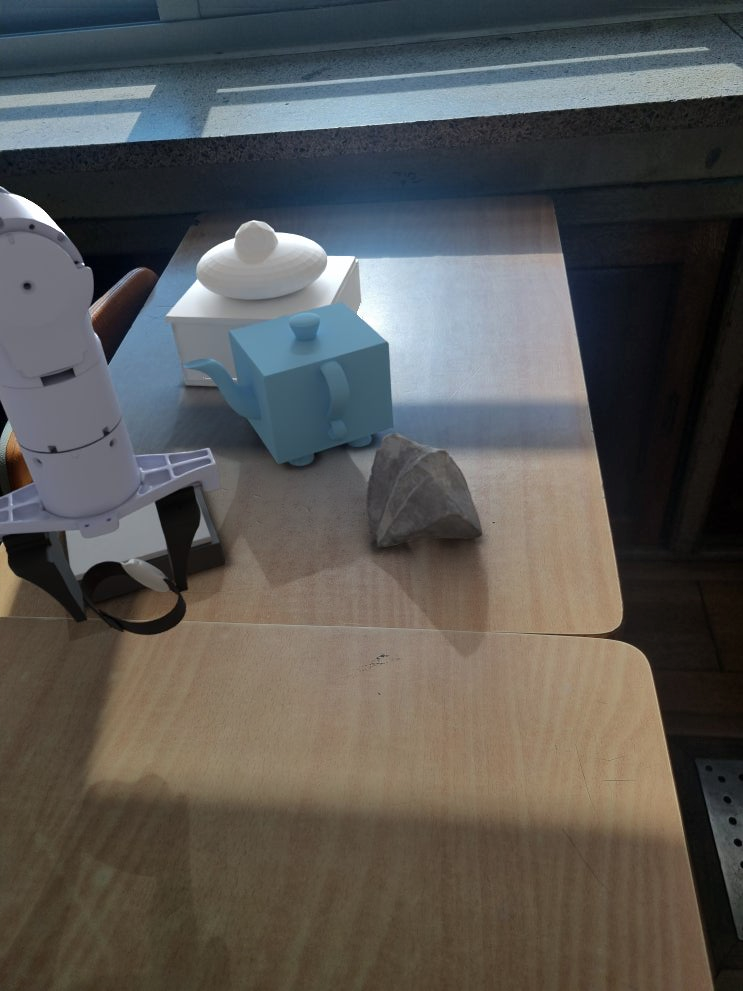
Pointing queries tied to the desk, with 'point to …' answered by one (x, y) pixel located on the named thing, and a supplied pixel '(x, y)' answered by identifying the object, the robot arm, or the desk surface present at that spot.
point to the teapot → (308, 381)
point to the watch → (145, 576)
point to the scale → (140, 549)
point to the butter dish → (255, 291)
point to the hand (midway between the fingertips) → (130, 596)
